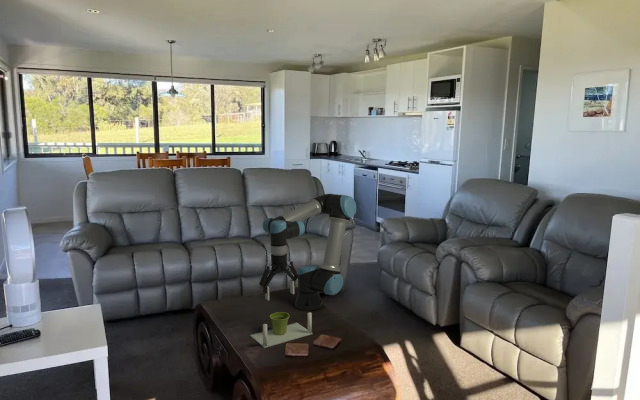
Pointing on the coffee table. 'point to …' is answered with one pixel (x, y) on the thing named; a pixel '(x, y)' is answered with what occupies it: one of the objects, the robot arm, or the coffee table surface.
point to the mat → (292, 333)
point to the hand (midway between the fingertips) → (280, 296)
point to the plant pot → (279, 322)
